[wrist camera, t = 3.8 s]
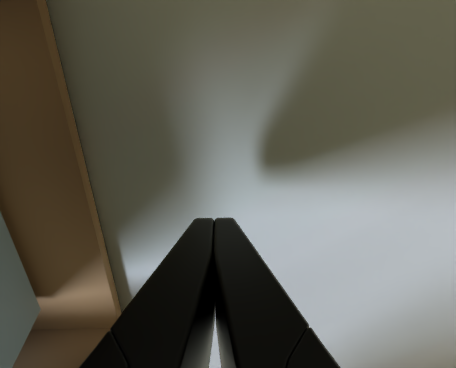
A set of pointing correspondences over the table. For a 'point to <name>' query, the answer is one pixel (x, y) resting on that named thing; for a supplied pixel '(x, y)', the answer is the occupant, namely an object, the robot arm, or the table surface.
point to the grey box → (14, 301)
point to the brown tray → (49, 195)
